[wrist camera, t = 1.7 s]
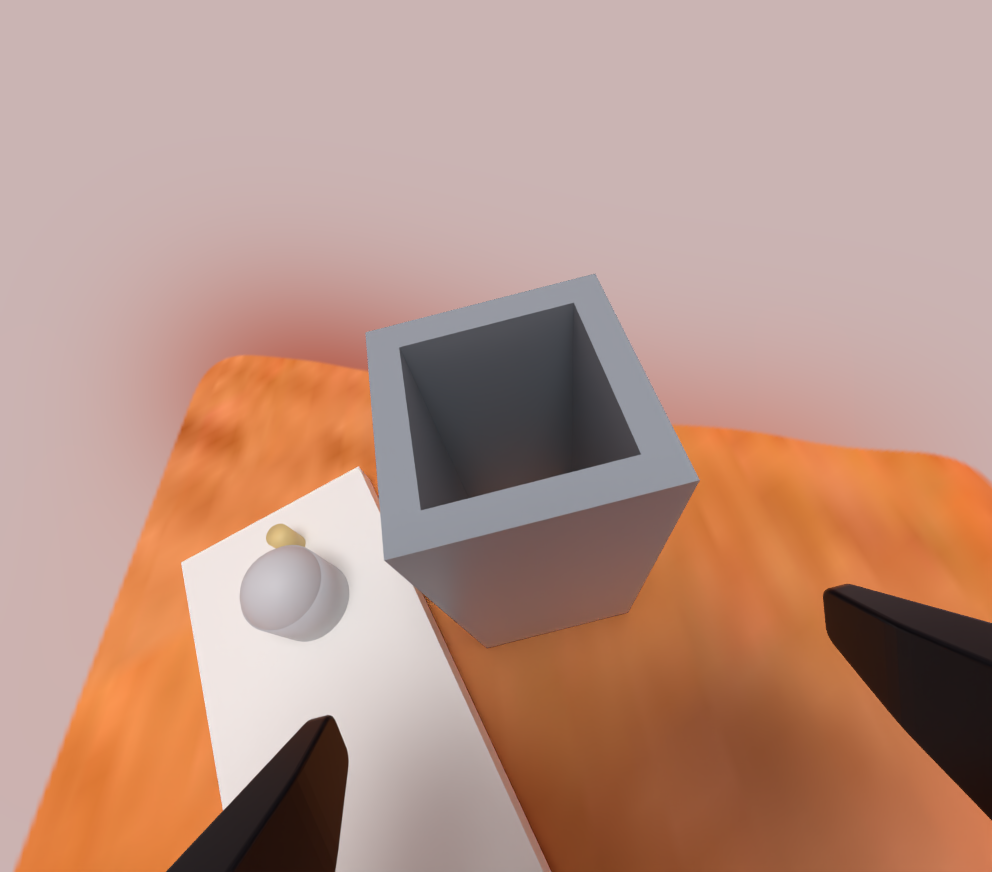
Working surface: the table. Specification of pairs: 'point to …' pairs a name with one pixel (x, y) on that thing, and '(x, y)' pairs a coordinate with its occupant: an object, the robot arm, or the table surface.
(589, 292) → the sleeve
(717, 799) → the table surface
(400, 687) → the post board
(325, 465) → the table surface
